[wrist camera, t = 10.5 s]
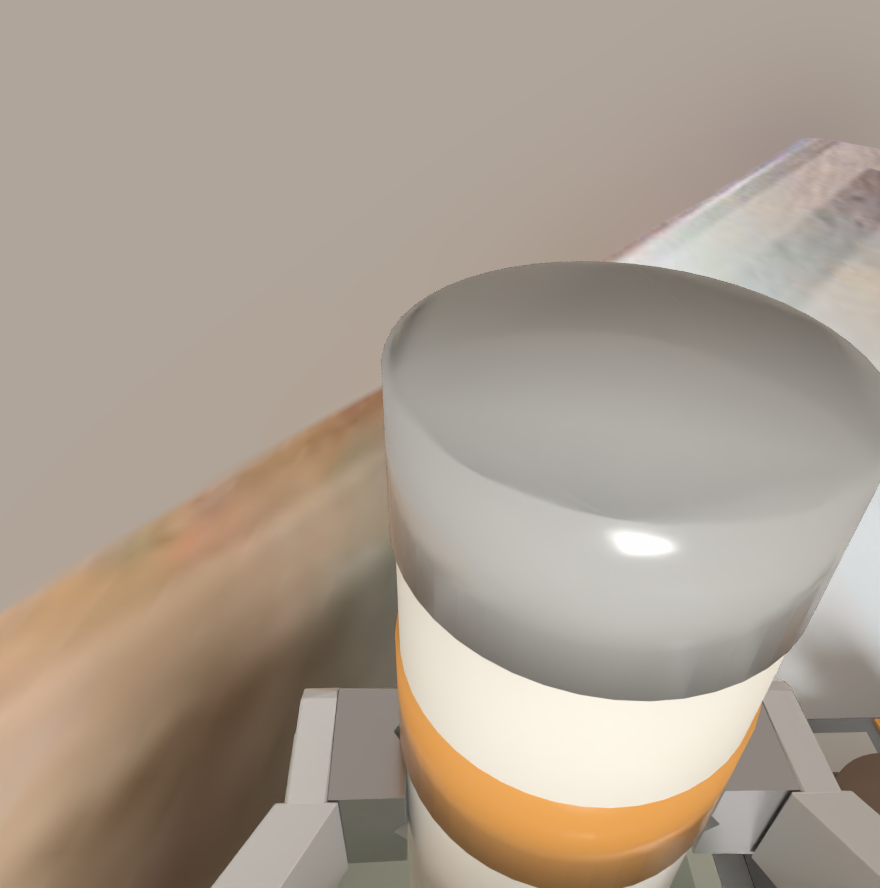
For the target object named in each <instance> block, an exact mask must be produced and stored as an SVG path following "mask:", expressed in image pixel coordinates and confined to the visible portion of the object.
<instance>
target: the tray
mask: <svg viewBox="0 0 880 888" xmlns="http://www.w3.org/2000/svg"><path fill="white" fill-rule="evenodd" d="M295 735H296V733H294V740H293V747H292V753H291V760H290V767H289V774H288V781H287V787H286V794H285V801H284V803H286V796H287V789H288V782H289V776H290V769H291V762H292V755H293V749H294V742H295ZM348 867H349V868H348V870H347V871H346V873H345V875H344V877H343V878H342V880H341V882H340V884H339V885H338V887H337V888H411V885H410V862H409V840H408V856H407V860H405V861H386V862H367V863H348ZM669 888H723V887H722V884H721V881H720V878H719V874H718V871H717V868H716V865H715V862H714V858H713V855H712V854H693V851H692V848H690V849H689V850H688V851H687V853H686V855H685V857H684V859H683V861H682V863H681V865H680V867H679V869H678V871H677V873H676V875H675V877H674V879H673V881H672V883H671V885H670V887H669Z"/></svg>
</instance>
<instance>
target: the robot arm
mask: <svg viewBox="0 0 880 888" xmlns="http://www.w3.org/2000/svg"><path fill="white" fill-rule="evenodd" d="M691 848H692V851H693V854H753V855H752V858H753V860H754V861H755V862H756V863H757V864H758V866H759V867H760V868H761V869H762V870H763V872H764V873H765V874H766V875H767V876H768V877H769V879H770V880H771V881H772V882H773V883H774V885H775V886H776V887H777V888H880V815H879V814H878V813H877V812H875V811H874V810H873V809H872V808H871V807H870V806H868V805H867V804H866V803H865V802H864V801H863V800H862V799H860V798H859V797H858V796H857V795H856V794H855V793H853V792H852V791H841V789H840V787H839V785H838V783H837V781H836V779H835V777H834V775H833V773H832V771H831V769H830V767H829V765H828V763H827V761H826V759H825V756H824V754H823V752H822V750H821V748H820V746H819V744H818V742H817V740H816V738H815V736H814V734H813V732H812V730H811V728H810V726H809V724H808V722H807V720H806V717H805V715H804V713H803V711H802V709H801V707H800V705H799V703H798V701H797V699H796V697H795V695H794V693H793V691H792V689H791V687H790V686H789V685H788V684H787V683H786V682H785V681H782V680H779V679H773V681H772V683H771V685H770V687H769V689H768V691H767V693H766V695H765V697H764V699H763V701H762V703H761V709H760V713H759V716H758V720H757V723H756V726H755V729H754V731H753V733H752V735H751V737H750V739H749V741H748V743H747V745H746V747H745V749H744V751H743V753H742V755H741V757H740V759H739V761H738V763H737V765H736V767H735V769H734V771H733V773H732V775H731V777H730V779H729V781H728V783H727V785H726V786H725V788H724V790H723V792H722V794H721V796H720V798H719V800H718V802H717V804H716V806H715V808H714V810H713V812H712V814H711V816H710V818H709V820H708V822H707V824H706V826H705V828H704V830H703V831H702V833H701V834H700V836H699V837H698V838H697V840H696V841H695V842H694V844H693V845H692V846H691ZM407 856H408V798H407V776H406V765H405V762H404V758H403V752H402V747H401V742H400V725H399V705H398V687H394V688H308V689H305V690H304V693H303V695H302V698H301V702H300V708H299V715H298V722H297V729H296V735H295V742H294V749H293V755H292V762H291V769H290V776H289V782H288V789H287V796H286V803H275V804H274V805H273V807H272V808H271V809H270V811H269V812H268V813H267V815H266V816H265V817H264V819H263V820H262V821H261V822H260V824H259V825H258V826H257V828H256V829H255V830H254V832H253V833H252V834H251V836H250V837H249V838H248V840H247V841H246V842H245V843H244V845H243V846H242V847H241V849H240V850H239V851H238V853H237V854H236V855H235V857H234V858H233V859H232V860H231V862H230V863H229V864H228V866H227V867H226V868H225V870H224V871H223V872H222V874H221V875H220V876H219V877H218V879H217V880H216V881H215V883H214V884H213V885H212V887H211V888H337V887H338V885H339V884H340V882H341V880H342V878H343V877H344V875H345V873H346V871H347V870H348V868H349V867H348V863H367V862H386V861H405V860H407Z"/></svg>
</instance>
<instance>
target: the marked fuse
mask: <svg viewBox="0 0 880 888" xmlns="http://www.w3.org/2000/svg"><path fill="white" fill-rule="evenodd" d="M381 369H382V390H383V409H384V429H385V449H386V469H387V488H388V508H389V528H390V540H391V544H392V549H393V553H394V557H395V560H396V571H397V593H398V613H397V620H396V629H395V646H396V666H397V686H398V705H399V725H400V742H401V747H402V752H403V758H404V762H405V765H406V776H407V798H408V840H409V862H410V885H411V888H669V887H670V885H671V883H672V881H673V879H674V877H675V875H676V873H677V871H678V869H679V867H680V865H681V863H682V861H683V859H684V857H685V855H686V853H687V851H688V850H689V849H690V848H691V846H692V845H693V844H694V842H695V841H696V840H697V838H698V837H699V836H700V834H701V833H702V831H703V830H704V828H705V826H706V824H707V822H708V820H709V818H710V816H711V814H712V812H713V810H714V808H715V806H716V804H717V802H718V800H719V798H720V796H721V794H722V792H723V790H724V788H725V786H726V785H727V783H728V781H729V779H730V777H731V775H732V773H733V771H734V769H735V767H736V765H737V763H738V761H739V759H740V757H741V755H742V753H743V751H744V749H745V747H746V745H747V743H748V741H749V739H750V737H751V735H752V733H753V731H754V729H755V726H756V723H757V720H758V716H759V713H760V709H761V703H762V701H763V699H764V697H765V695H766V693H767V691H768V689H769V687H770V685H771V683H772V681H773V679H774V677H775V675H776V673H777V671H778V669H779V667H780V665H781V662H782V660H783V658H784V656H785V654H786V653H787V652H788V651H789V650H790V649H791V648H792V646H793V645H794V644H795V643H796V642H797V640H798V639H799V638H800V637H801V636H802V634H803V633H804V631H805V629H806V627H807V625H808V623H809V621H810V619H811V617H812V615H813V613H814V611H815V609H816V607H817V605H818V603H819V602H820V600H821V598H822V596H823V594H824V592H825V590H826V588H827V586H828V584H829V582H830V580H831V578H832V576H833V574H834V572H835V570H836V568H837V566H838V564H839V562H840V560H841V558H842V556H843V554H844V552H845V550H846V548H847V546H848V544H849V542H850V541H851V539H852V537H853V535H854V533H855V531H856V529H857V527H858V525H859V523H860V521H861V519H862V517H863V515H864V513H865V511H866V509H867V507H868V505H869V503H870V501H871V499H872V497H873V495H874V493H875V491H876V489H877V487H878V485H879V483H880V372H879V371H878V370H877V369H876V368H875V367H874V365H873V364H872V363H871V362H870V361H869V360H868V359H867V357H865V356H864V355H863V354H862V353H861V352H860V351H859V350H858V349H856V348H855V347H854V346H853V345H852V344H851V343H850V342H848V341H847V340H846V339H844V338H843V337H842V336H840V335H839V334H837V333H836V332H835V331H833V330H832V329H830V328H829V327H827V326H826V325H824V324H822V323H820V322H819V321H817V320H815V319H814V318H812V317H810V316H809V315H807V314H805V313H803V312H801V311H799V310H797V309H795V308H793V307H791V306H789V305H787V304H785V303H782V302H780V301H777V300H775V299H773V298H770V297H768V296H765V295H763V294H760V293H758V292H755V291H752V290H749V289H746V288H743V287H740V286H737V285H734V284H731V283H727V282H724V281H720V280H717V279H713V278H710V277H705V276H701V275H697V274H692V273H688V272H683V271H678V270H672V269H666V268H661V267H654V266H646V265H638V264H628V263H615V262H589V261H576V262H575V261H574V262H551V263H540V264H530V265H523V266H516V267H509V268H505V269H501V270H495V271H491V272H487V273H484V274H480V275H477V276H473V277H470V278H466V279H464V280H461V281H459V282H456V283H454V284H451V285H449V286H446V287H444V288H442V289H440V290H438V291H436V292H435V293H433V294H431V295H429V296H428V297H426V298H425V299H423V300H422V301H420V302H419V303H417V304H416V305H414V306H413V307H412V308H411V309H410V310H409V311H408V312H407V313H406V314H404V316H402V317H401V319H400V320H399V321H398V322H397V324H396V325H395V326H394V328H393V329H392V330H391V332H390V334H389V336H388V339H387V341H386V343H385V345H384V349H383V354H382V359H381Z"/></svg>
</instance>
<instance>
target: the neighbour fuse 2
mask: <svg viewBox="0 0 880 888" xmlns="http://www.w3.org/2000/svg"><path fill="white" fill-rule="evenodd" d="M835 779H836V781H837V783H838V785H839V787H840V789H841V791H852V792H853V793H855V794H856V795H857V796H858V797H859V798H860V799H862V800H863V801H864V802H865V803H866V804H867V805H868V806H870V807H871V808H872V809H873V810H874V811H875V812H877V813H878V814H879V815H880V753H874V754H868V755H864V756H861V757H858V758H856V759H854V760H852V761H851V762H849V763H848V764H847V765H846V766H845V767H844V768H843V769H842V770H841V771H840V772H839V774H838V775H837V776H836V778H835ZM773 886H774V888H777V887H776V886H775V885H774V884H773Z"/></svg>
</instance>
